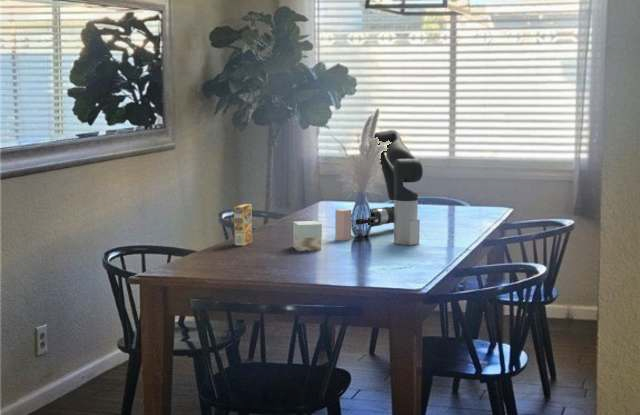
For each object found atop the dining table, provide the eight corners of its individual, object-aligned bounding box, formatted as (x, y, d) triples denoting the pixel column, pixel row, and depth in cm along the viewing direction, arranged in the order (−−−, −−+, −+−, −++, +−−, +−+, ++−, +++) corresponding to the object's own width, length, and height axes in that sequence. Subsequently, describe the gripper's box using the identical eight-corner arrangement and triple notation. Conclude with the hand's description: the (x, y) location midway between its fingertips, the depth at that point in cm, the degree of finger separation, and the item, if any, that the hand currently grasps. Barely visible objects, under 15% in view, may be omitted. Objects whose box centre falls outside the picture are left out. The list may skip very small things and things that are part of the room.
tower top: (316, 233, 369) (316, 220, 368) (321, 237, 360) (321, 224, 359) (293, 234, 366) (293, 221, 366) (298, 238, 358) (298, 225, 357)
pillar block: (351, 239, 384) (351, 209, 383) (343, 240, 381) (343, 211, 379) (342, 238, 387) (343, 208, 386) (335, 239, 384) (335, 210, 383)
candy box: (244, 246, 369) (243, 206, 367) (234, 245, 370) (233, 206, 368) (252, 242, 377) (252, 204, 375) (242, 241, 378) (242, 203, 376)
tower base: (316, 246, 369) (316, 233, 368) (321, 250, 360) (321, 237, 360) (293, 247, 367) (293, 234, 366) (297, 251, 358) (297, 238, 358)
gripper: (362, 206, 402) (335, 210, 390) (388, 209, 392) (362, 213, 380) (362, 224, 403) (335, 228, 391) (388, 227, 393) (361, 232, 381)
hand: (348, 221), depth 386 cm, fingers open, 8 cm apart
